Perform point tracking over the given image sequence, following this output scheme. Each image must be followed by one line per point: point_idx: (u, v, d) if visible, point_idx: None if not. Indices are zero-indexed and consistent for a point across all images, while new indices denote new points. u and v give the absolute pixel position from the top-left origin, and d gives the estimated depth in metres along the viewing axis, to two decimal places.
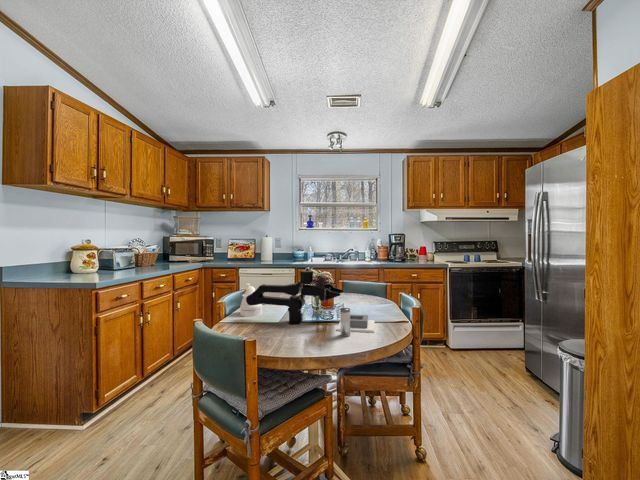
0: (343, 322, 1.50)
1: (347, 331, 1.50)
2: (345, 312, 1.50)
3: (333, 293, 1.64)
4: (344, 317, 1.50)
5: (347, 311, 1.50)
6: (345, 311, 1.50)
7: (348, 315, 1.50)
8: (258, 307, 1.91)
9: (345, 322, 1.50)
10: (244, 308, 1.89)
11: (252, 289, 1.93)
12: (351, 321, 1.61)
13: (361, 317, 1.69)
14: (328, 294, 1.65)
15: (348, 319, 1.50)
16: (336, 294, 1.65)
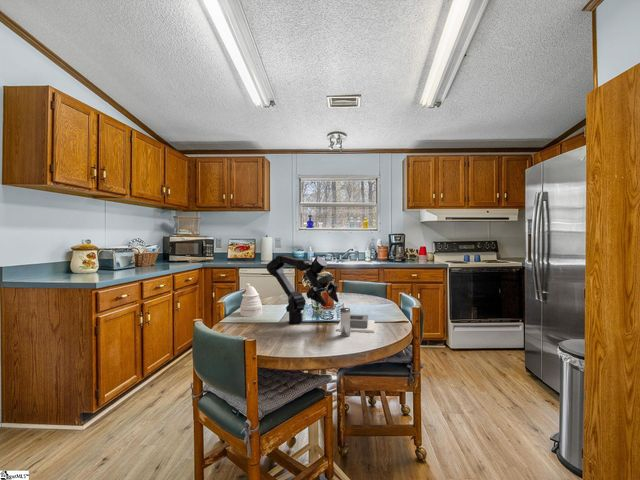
0: (343, 322, 1.50)
1: (347, 331, 1.50)
2: (345, 312, 1.50)
3: (321, 299, 1.54)
4: (344, 317, 1.50)
5: (347, 311, 1.50)
6: (345, 311, 1.50)
7: (348, 315, 1.50)
8: (258, 307, 1.91)
9: (345, 322, 1.50)
10: (244, 308, 1.89)
11: (252, 289, 1.93)
12: (351, 321, 1.61)
13: (361, 317, 1.69)
14: (317, 296, 1.56)
15: (348, 319, 1.50)
16: (322, 302, 1.54)
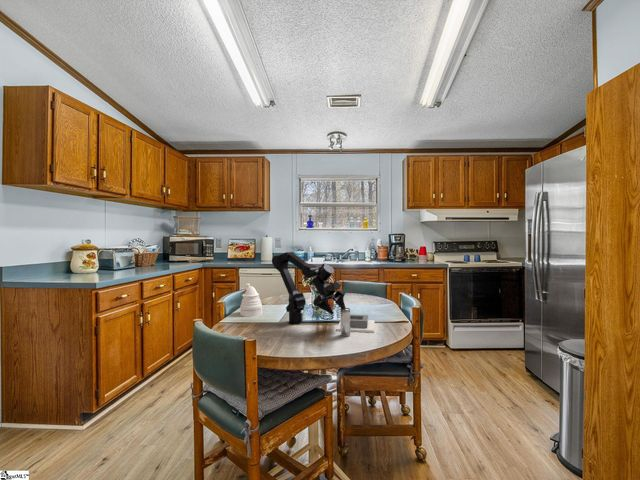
0: (343, 322, 1.50)
1: (347, 331, 1.50)
2: (345, 312, 1.50)
3: (328, 308, 1.51)
4: (344, 317, 1.50)
5: (347, 311, 1.50)
6: (345, 311, 1.50)
7: (348, 315, 1.50)
8: (258, 307, 1.91)
9: (345, 322, 1.50)
10: (244, 308, 1.89)
11: (252, 289, 1.93)
12: (351, 321, 1.61)
13: (361, 317, 1.69)
14: (324, 304, 1.53)
15: (348, 319, 1.50)
16: (330, 311, 1.51)
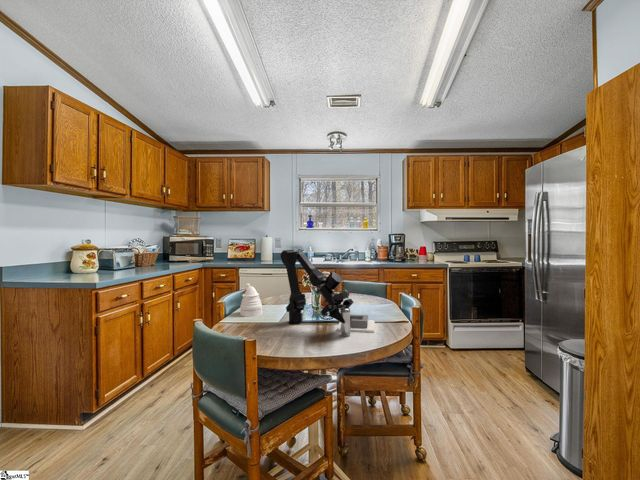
0: None
1: (347, 331, 1.50)
2: (345, 312, 1.50)
3: (339, 317, 1.50)
4: (344, 317, 1.50)
5: (347, 311, 1.50)
6: (345, 311, 1.50)
7: (348, 315, 1.50)
8: (258, 307, 1.91)
9: (345, 322, 1.50)
10: (244, 308, 1.89)
11: (252, 289, 1.93)
12: (351, 321, 1.61)
13: (361, 317, 1.69)
14: (335, 313, 1.51)
15: (348, 319, 1.50)
16: (341, 320, 1.50)
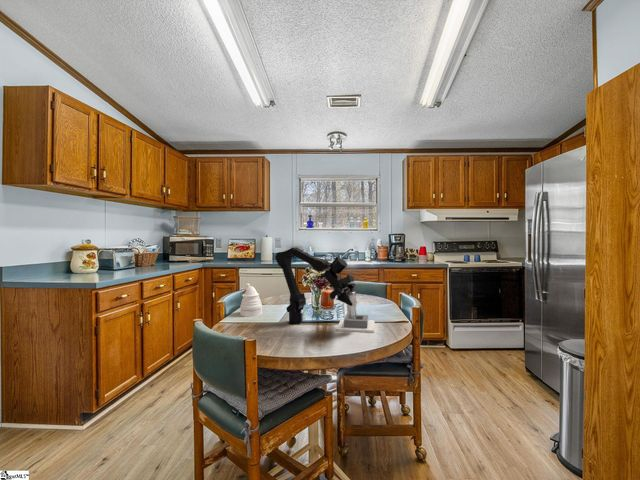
0: None
1: (354, 313, 1.56)
2: (352, 295, 1.55)
3: (347, 299, 1.55)
4: (351, 300, 1.55)
5: (354, 294, 1.55)
6: (352, 294, 1.55)
7: (355, 298, 1.56)
8: (258, 307, 1.91)
9: None
10: (244, 308, 1.89)
11: (252, 289, 1.93)
12: (351, 321, 1.61)
13: (361, 317, 1.69)
14: (342, 296, 1.56)
15: (355, 301, 1.56)
16: (348, 302, 1.55)
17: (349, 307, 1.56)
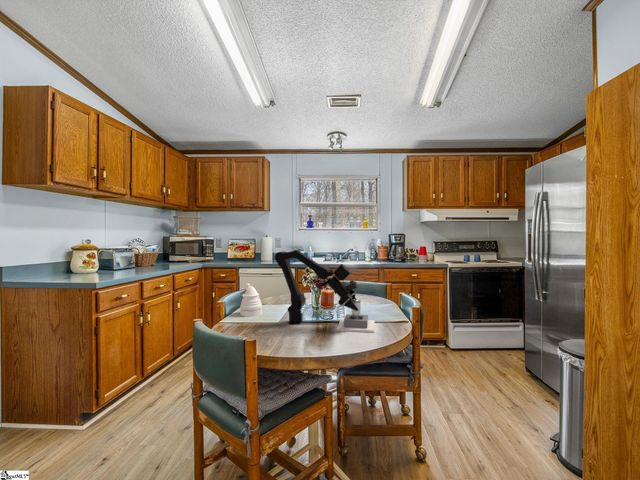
0: (356, 312, 1.64)
1: None
2: (358, 302, 1.64)
3: (353, 305, 1.62)
4: (357, 307, 1.64)
5: (359, 301, 1.65)
6: (358, 301, 1.64)
7: None
8: (258, 307, 1.91)
9: (358, 312, 1.64)
10: (244, 308, 1.89)
11: (252, 289, 1.93)
12: (351, 321, 1.61)
13: (361, 317, 1.69)
14: (348, 302, 1.62)
15: (360, 309, 1.65)
16: (355, 308, 1.62)
17: (355, 314, 1.64)
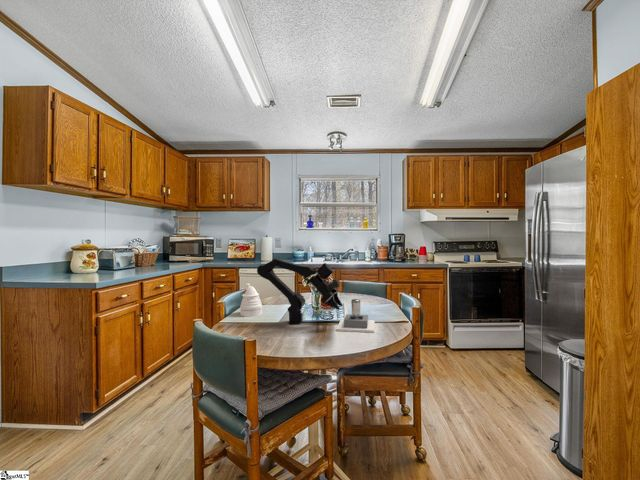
0: (356, 312, 1.64)
1: None
2: (358, 302, 1.64)
3: (334, 304, 1.64)
4: (357, 307, 1.64)
5: (359, 301, 1.65)
6: (358, 301, 1.64)
7: None
8: (258, 307, 1.91)
9: (358, 312, 1.64)
10: (244, 308, 1.89)
11: (252, 289, 1.93)
12: (351, 321, 1.61)
13: (361, 317, 1.69)
14: (330, 301, 1.64)
15: None
16: (336, 306, 1.64)
17: (355, 314, 1.64)
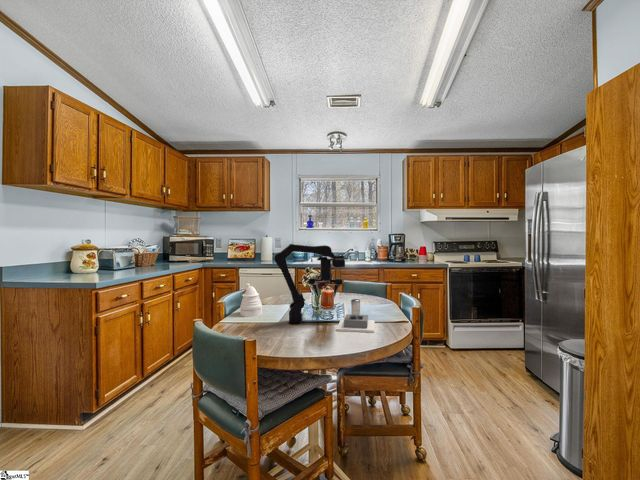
0: (356, 312, 1.64)
1: None
2: (358, 302, 1.64)
3: (336, 290, 1.77)
4: (357, 307, 1.64)
5: (359, 301, 1.65)
6: (358, 302, 1.64)
7: (359, 305, 1.65)
8: (258, 307, 1.91)
9: (358, 312, 1.64)
10: (244, 308, 1.89)
11: (252, 289, 1.93)
12: (351, 321, 1.61)
13: (361, 317, 1.69)
14: None
15: (359, 309, 1.65)
16: (335, 293, 1.77)
17: (355, 314, 1.64)
